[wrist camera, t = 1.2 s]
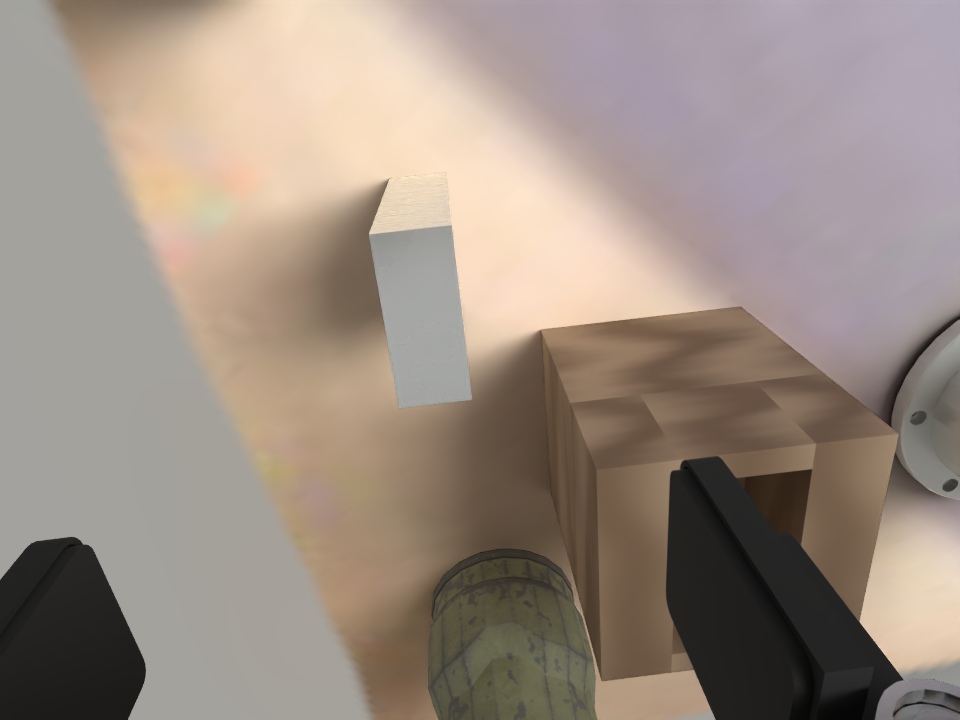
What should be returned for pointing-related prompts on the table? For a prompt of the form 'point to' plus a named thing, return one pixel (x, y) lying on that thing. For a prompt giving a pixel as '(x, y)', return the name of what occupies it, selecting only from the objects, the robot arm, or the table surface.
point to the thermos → (509, 642)
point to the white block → (420, 291)
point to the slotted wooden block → (697, 434)
